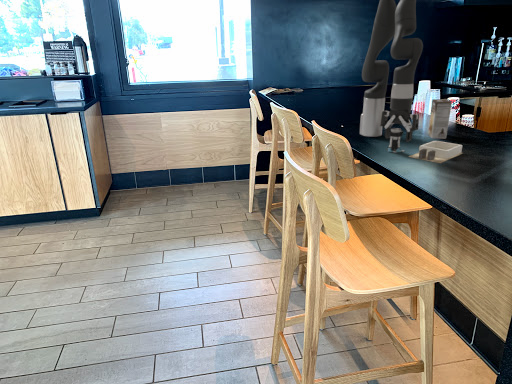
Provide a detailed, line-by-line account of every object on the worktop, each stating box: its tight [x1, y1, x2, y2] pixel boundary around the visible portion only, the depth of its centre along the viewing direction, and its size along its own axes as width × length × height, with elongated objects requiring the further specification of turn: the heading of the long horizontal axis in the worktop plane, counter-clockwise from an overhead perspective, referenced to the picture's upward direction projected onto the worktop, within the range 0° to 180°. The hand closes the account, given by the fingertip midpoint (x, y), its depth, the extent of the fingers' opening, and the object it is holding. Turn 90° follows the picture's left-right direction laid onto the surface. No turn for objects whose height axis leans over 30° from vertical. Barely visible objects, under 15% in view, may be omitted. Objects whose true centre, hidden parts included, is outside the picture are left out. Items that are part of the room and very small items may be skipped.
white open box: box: [418, 140, 463, 159], centre depth 145 cm, size 11×12×3 cm
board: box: [408, 149, 464, 164], centre depth 143 cm, size 12×18×4 cm, turn 130°
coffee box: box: [427, 98, 453, 140], centre depth 172 cm, size 9×6×16 cm
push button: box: [386, 127, 405, 153], centre depth 148 cm, size 7×5×10 cm
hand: (397, 139), depth 147 cm, fingers open, 8 cm apart
